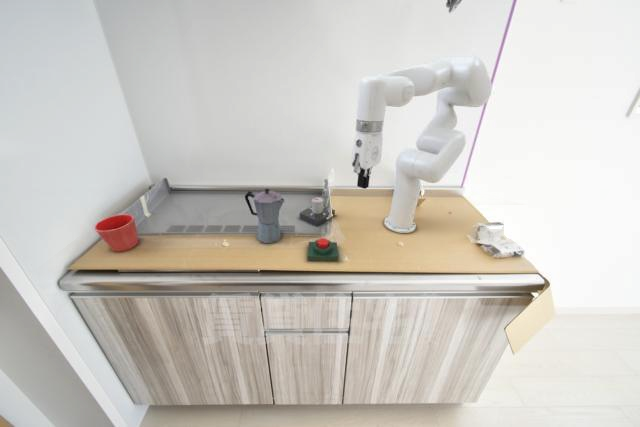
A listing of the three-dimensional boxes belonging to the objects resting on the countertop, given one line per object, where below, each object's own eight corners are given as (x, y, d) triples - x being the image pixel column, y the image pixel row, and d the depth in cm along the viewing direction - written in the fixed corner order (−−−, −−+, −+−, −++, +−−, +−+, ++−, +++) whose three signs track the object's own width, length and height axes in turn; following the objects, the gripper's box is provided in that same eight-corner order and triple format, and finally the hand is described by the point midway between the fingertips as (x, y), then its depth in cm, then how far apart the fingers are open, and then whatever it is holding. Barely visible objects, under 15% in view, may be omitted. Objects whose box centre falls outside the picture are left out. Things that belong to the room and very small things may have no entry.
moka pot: (283, 247, 86) (279, 196, 76) (243, 241, 89) (235, 192, 79) (291, 232, 94) (289, 185, 85) (254, 228, 97) (248, 181, 87)
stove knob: (325, 210, 104) (325, 198, 101) (318, 215, 101) (318, 202, 98) (316, 207, 107) (317, 195, 104) (309, 211, 104) (309, 199, 101)
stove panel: (317, 208, 112) (317, 202, 111) (334, 216, 107) (335, 209, 105) (299, 218, 104) (299, 212, 103) (317, 226, 99) (317, 220, 97)
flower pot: (101, 257, 80) (88, 233, 75) (112, 239, 88) (101, 216, 84) (139, 250, 83) (128, 227, 78) (146, 234, 92) (137, 211, 87)
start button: (328, 242, 83) (328, 238, 82) (328, 248, 80) (328, 244, 79) (317, 242, 83) (317, 238, 82) (317, 248, 80) (317, 244, 79)
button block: (336, 247, 87) (337, 238, 85) (337, 261, 80) (338, 252, 78) (308, 246, 87) (308, 237, 85) (307, 261, 80) (307, 251, 78)
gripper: (367, 132, 61) (360, 197, 70) (393, 125, 71) (384, 183, 80) (343, 128, 65) (339, 190, 74) (371, 122, 75) (364, 178, 84)
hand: (362, 186), depth 77 cm, fingers closed
